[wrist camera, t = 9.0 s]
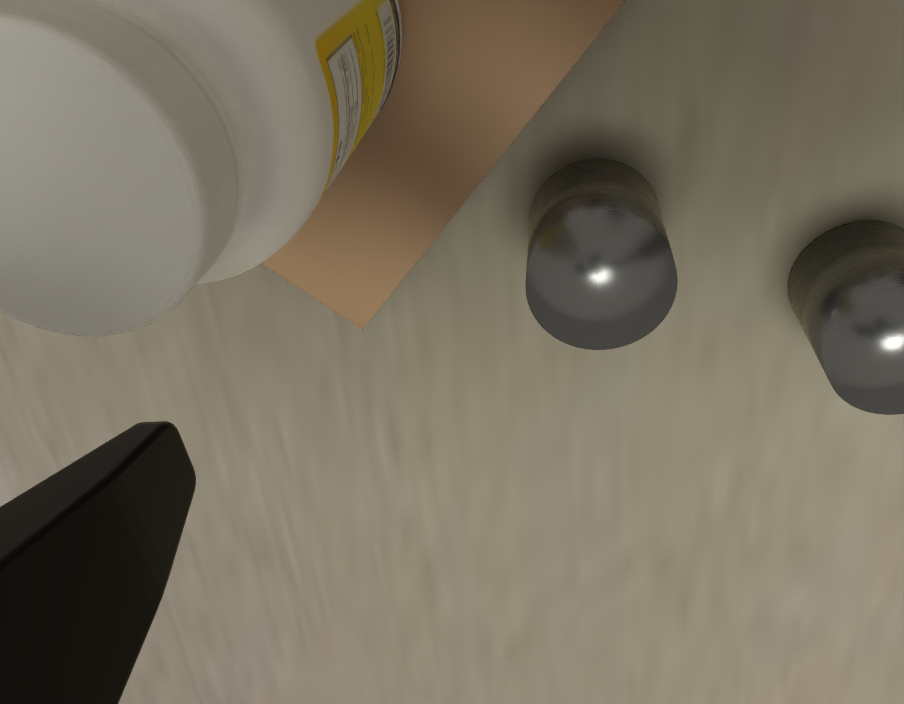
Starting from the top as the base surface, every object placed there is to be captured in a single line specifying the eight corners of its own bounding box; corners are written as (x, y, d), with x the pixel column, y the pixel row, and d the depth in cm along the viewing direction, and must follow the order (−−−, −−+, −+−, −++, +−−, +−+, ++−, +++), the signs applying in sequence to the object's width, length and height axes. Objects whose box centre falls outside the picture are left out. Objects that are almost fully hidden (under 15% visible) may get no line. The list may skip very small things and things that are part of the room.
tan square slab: (181, -444, 14) (162, -458, 13) (644, -34, 17) (648, -29, 16) (-5, 67, 19) (-24, 75, 19) (368, 314, 22) (362, 329, 21)
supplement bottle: (114, -25, 17) (-292, 94, 9) (312, -176, 15) (24, -197, 7) (263, 186, 19) (46, 435, 11) (452, 78, 18) (356, 283, 9)
